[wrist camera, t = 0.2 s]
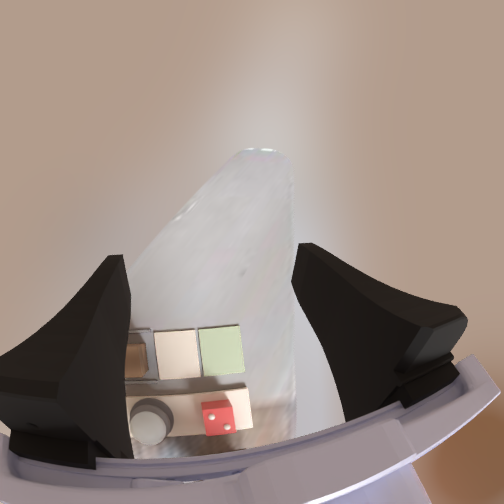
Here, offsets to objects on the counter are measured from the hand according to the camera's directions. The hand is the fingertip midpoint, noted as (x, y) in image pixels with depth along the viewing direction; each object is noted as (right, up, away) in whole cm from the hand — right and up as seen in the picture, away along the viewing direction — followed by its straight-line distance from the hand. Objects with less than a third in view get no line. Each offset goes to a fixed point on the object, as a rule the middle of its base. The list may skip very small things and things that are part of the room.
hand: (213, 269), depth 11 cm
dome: (-12, -22, +21) cm, 33 cm away
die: (-4, -22, +25) cm, 34 cm away
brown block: (-16, -14, +26) cm, 33 cm away
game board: (-9, -18, +26) cm, 33 cm away
